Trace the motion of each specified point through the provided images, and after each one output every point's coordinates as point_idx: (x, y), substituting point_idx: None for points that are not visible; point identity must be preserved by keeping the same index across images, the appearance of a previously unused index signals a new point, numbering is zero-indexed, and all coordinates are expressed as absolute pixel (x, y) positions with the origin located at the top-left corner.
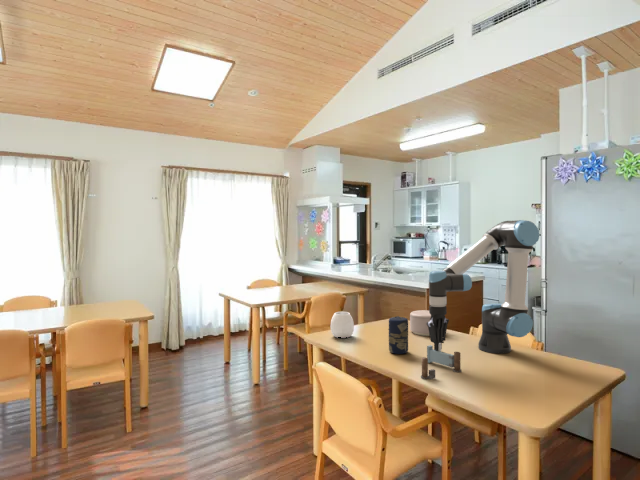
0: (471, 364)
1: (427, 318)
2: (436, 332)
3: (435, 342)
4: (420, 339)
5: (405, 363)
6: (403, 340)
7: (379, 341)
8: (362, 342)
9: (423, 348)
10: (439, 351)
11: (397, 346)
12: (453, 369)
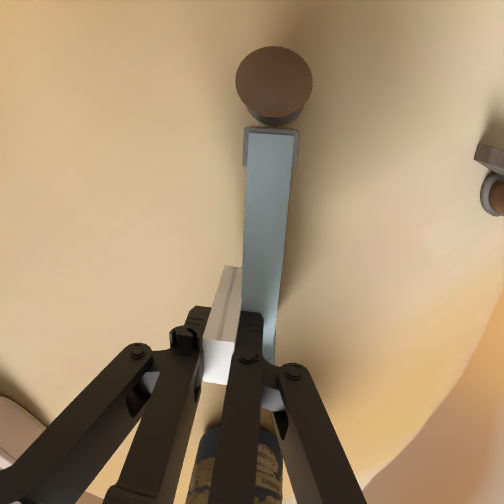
0: (90, 120)
1: (11, 456)
2: (256, 469)
3: (300, 368)
4: None
5: (361, 369)
6: None
7: None
8: None
9: None
10: (252, 293)
11: (276, 462)
12: (291, 117)
